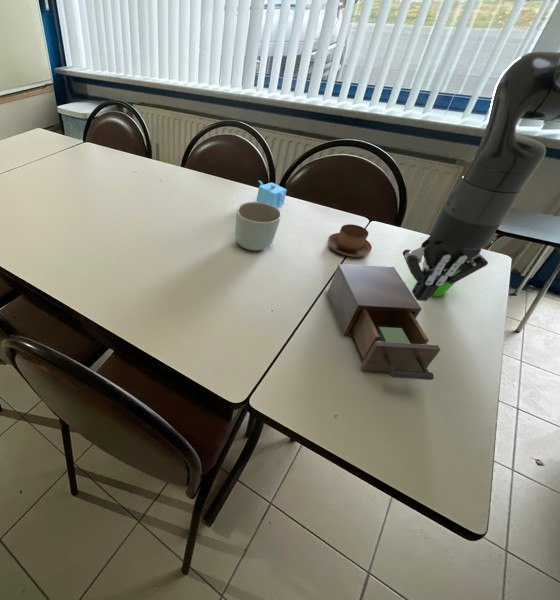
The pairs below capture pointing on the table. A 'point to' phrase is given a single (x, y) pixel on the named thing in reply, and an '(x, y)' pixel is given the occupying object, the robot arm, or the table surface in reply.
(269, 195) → the teapot
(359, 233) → the cup and saucer
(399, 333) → the block
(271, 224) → the planter
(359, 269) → the cabinet
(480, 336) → the table surface
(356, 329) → the drawer
